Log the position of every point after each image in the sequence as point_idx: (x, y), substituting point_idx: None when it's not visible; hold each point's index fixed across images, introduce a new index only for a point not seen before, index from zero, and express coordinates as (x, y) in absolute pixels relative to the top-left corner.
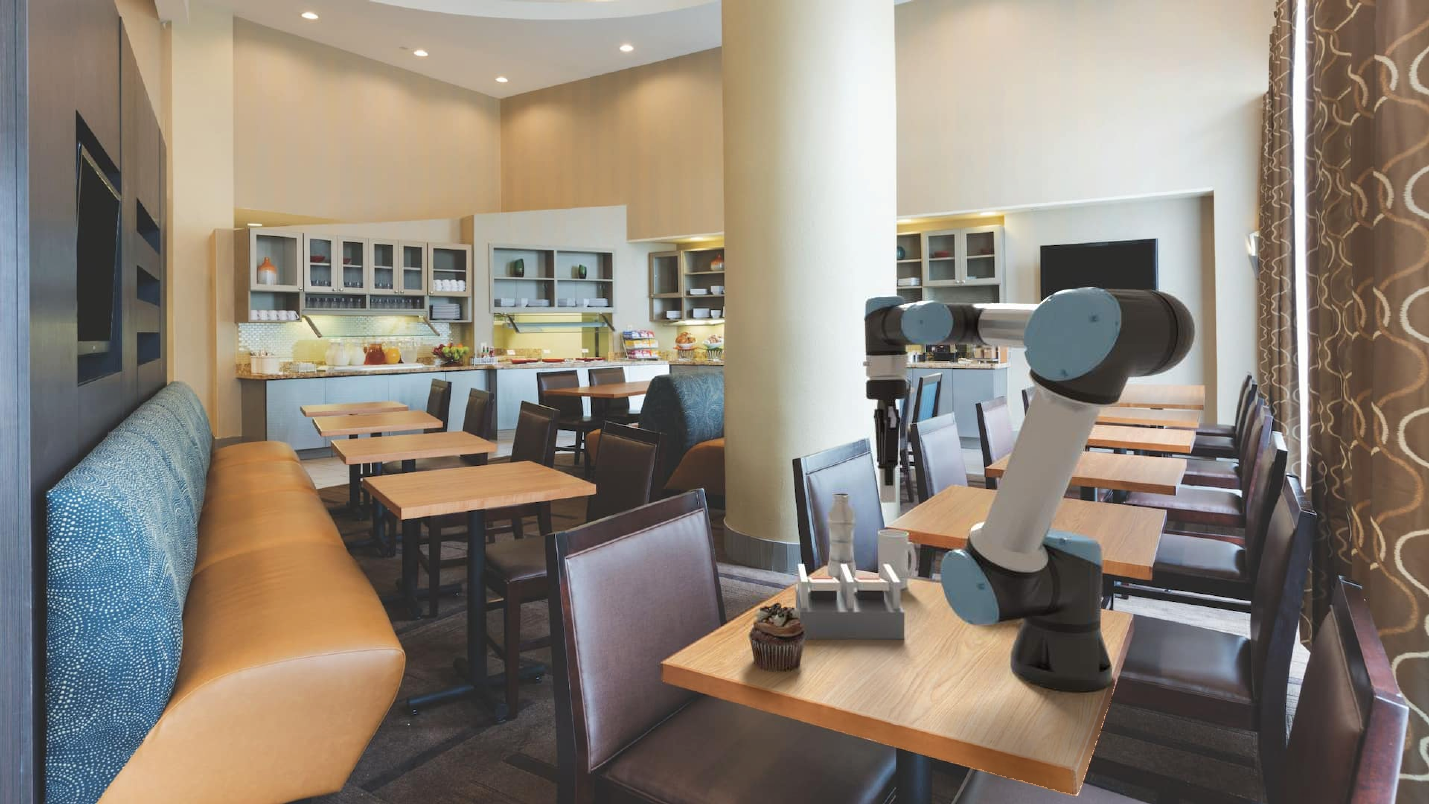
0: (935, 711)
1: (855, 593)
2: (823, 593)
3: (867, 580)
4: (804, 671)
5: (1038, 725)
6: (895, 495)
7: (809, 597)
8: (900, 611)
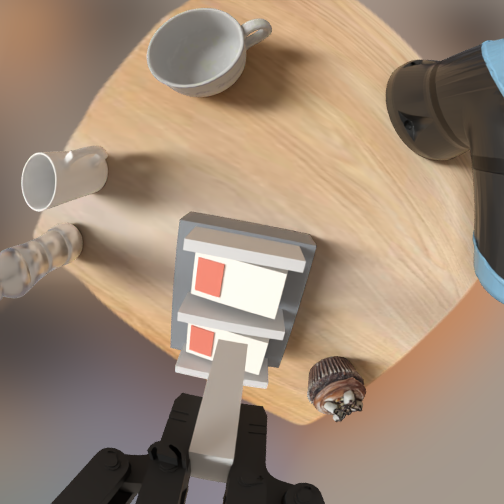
0: (455, 273)
1: None
2: None
3: (242, 292)
4: (357, 355)
5: None
6: (245, 361)
7: None
8: (311, 250)
